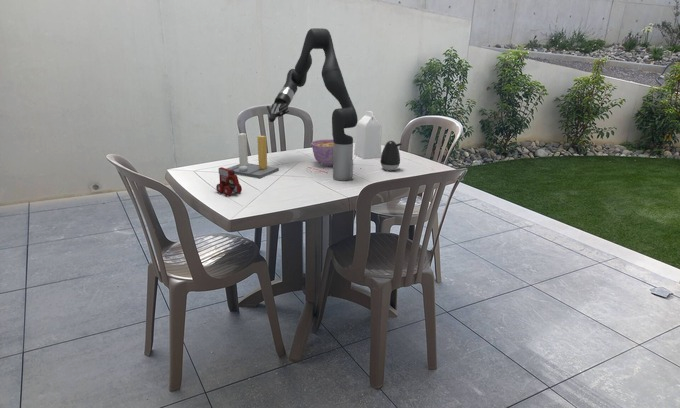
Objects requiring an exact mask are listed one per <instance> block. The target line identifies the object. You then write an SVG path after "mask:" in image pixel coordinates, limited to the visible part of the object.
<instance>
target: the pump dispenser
mask: <svg viewBox="0 0 680 408" xmlns="http://www.w3.org/2000/svg"><path fill="white" fill-rule="evenodd" d="M399 146H402V142H400V143H396V142H395V141H394V140H388V141H387V142H386V143H385V145H384V147H383V149H382V150H381V158H380V167H382V169H383V170H384V171H387V170H394V171H396V170H397V169H399V166H400V165H401V156H400V151H399Z"/></svg>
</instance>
